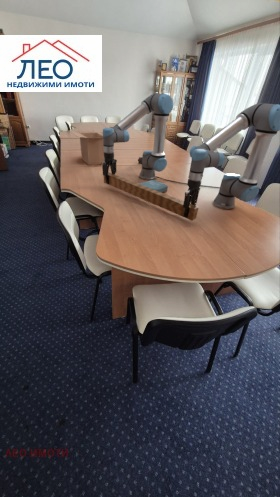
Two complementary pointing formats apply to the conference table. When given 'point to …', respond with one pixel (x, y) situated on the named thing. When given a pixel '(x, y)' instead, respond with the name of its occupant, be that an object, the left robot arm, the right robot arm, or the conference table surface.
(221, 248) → the conference table surface
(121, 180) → the bar
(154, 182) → the book
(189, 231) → the conference table surface
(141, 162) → the laser sight
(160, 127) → the left robot arm
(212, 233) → the conference table surface
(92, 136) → the box
